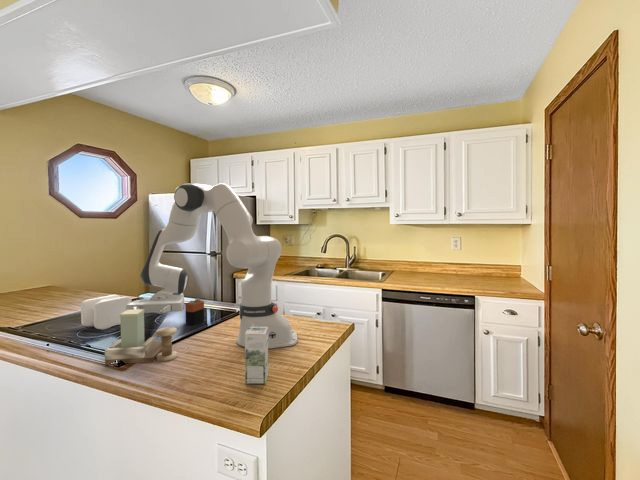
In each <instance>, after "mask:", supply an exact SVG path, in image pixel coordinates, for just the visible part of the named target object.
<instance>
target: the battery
mask: <svg viewBox="0 0 640 480" xmlns="http://www.w3.org/2000/svg"><path fill="white" fill-rule="evenodd" d="M184 306H185V324H187V325H190V326H193V325H198V324H199V323H201V322H202V323H203V322H204V321H205V301H204V300H201V298H195V299H194V300H190V301H188V302H186V303H184Z"/></svg>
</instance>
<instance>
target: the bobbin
mask: <svg viewBox="0 0 640 480" xmlns="http://www.w3.org/2000/svg"><path fill="white" fill-rule="evenodd" d="M177 332H178V330H177V327H173V326H167V327H162V328H159V329H157V330H156V331H155V336H156V337H160V338H161V341H160V342H161V344H162V352H161V353H159V354H157V359H156V361H157V362H170V361H172V360H174V359H176V358H177V357H178V352H177V350H174V349H173V342H172V341H173V339H172V336H174V335H176V334H177Z"/></svg>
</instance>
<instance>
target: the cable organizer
mask: <svg viewBox="0 0 640 480" xmlns="http://www.w3.org/2000/svg"><path fill="white" fill-rule="evenodd" d="M130 302H133V301H132V298H131V297H129V296H121V295H118V294H109V295H106V296H100V297H99V296H98V297H94V298H89V299H85V300H83V301H81V303H80V319H81V321H80V323H81V325H83V327H94V328H95V329H98V330H103V331H104V330H107V329H110V328H111V327H113V326H115V327H116V326H117V325H118V326H121V324H120V314H121V313H123V312H125V311H126V305H127V304H128V303H130Z"/></svg>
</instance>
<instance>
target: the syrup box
mask: <svg viewBox="0 0 640 480" xmlns="http://www.w3.org/2000/svg"><path fill="white" fill-rule="evenodd" d="M268 375H269V349H268V327H248V329H247V330H246V333H245V347H244V378H245V382H244V385H266V383H267V379H268Z"/></svg>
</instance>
